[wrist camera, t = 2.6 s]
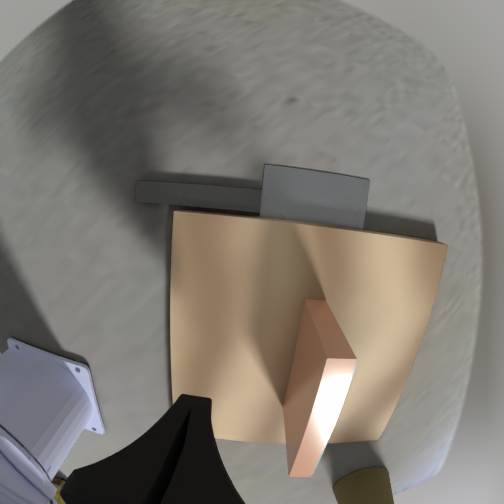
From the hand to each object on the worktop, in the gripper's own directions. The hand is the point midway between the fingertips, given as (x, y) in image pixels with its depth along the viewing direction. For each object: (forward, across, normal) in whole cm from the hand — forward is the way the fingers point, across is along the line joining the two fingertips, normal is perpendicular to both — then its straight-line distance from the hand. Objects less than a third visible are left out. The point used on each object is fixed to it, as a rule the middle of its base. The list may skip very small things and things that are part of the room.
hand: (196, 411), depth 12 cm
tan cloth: (+7, -5, 0) cm, 9 cm away
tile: (+5, -5, 0) cm, 8 cm away
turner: (+7, -2, -9) cm, 11 cm away
